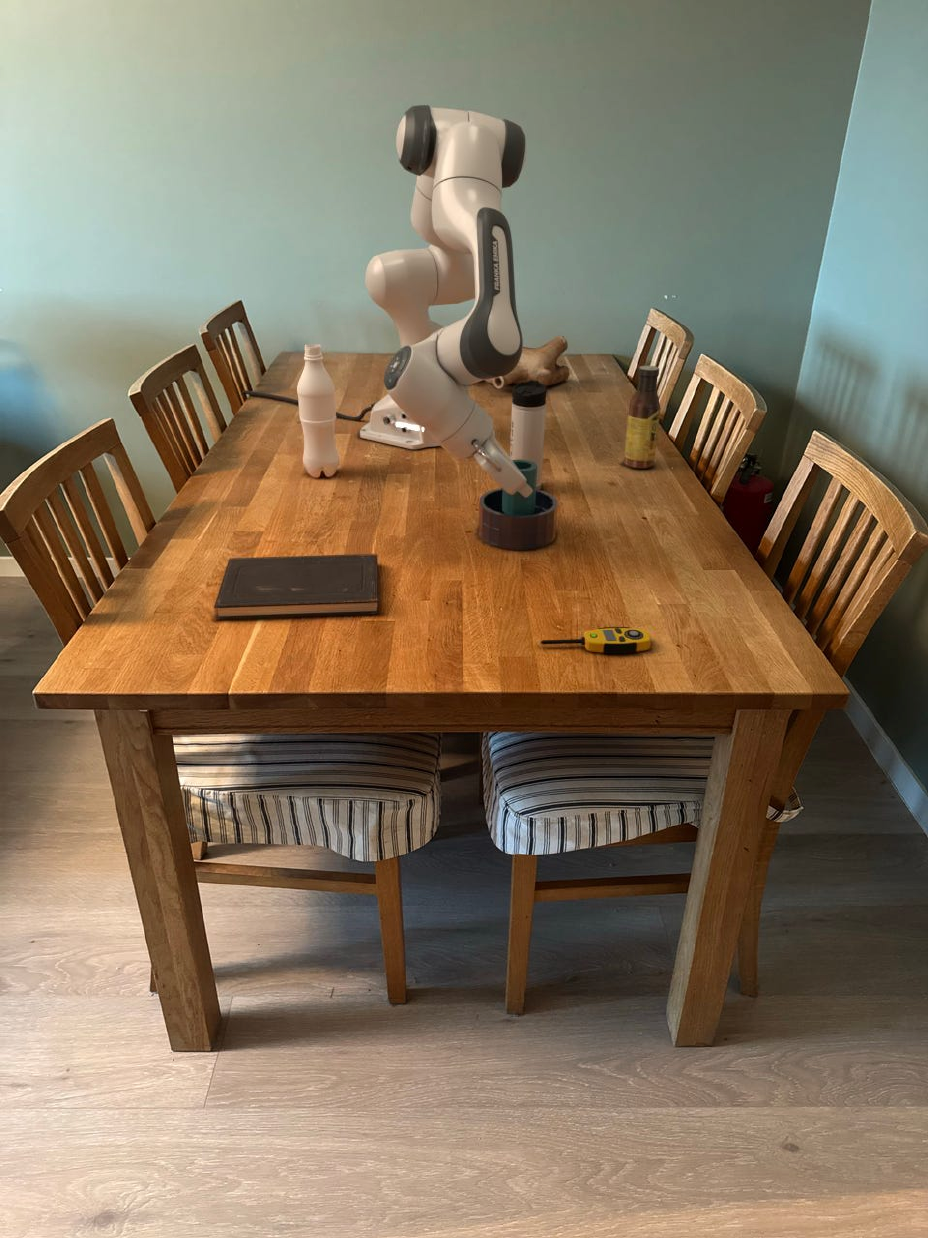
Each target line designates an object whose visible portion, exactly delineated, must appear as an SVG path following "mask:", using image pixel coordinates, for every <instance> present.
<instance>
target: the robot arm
mask: <svg viewBox="0 0 928 1238" xmlns="http://www.w3.org/2000/svg"><path fill="white" fill-rule="evenodd" d="M526 142H527V141H526V135H525V133H524V130H523V128H522V126H521V125H519V124H517V123H515V122H513V121H511V120H509V119H506V118H503V119H499V118H497V117H495V116H491V115H488V114H485V113H481V112H478V111H473V110H468V109H467V110H461V109H455V108H446V107H445V108H444V107H430V105H429V104H419V105H412V106H410V107H409V108H408V109H407V110H406V111H405V112H404V113H403V117H402V119H401V121H400V122H399V125H398V127H397V131H396V138H395V144H396V152H397V155H398V161H399V162H398V163H400V166H402V168H403V169H404V170H405V171H407V172H408V173H411V174H412V175H415V176H417V177H416V181H415V186H414V193H413V199H412V203H411V209H410V222H411V223H410V224H411V226H412V228H413V230H414V232H415V234H417V235H418V237H420V238H421V239H422V240H423V241H425V242H426V243H428V244H429V246H428V247H424V248H409V249H407V248H406V249H394V250H390V251H386V252H383V253H380V254H377V255H376V254H375V255H374V256H373V257H372V258H371V259H370V261H369V263H368V264H367V267H366V269H365V275H364V276H365V278H364V282H365V287H366V291H367V293H368V295H369V297H370V299H371V300H372V301H373V302H374V303H375V304H376V305H377V306H378V307H380V308H381V309H382V310H384V312H385V313H387V314H388V316H389V317H390V319H391V320H392V321H393V323H394V326H395V327H396V330H397V332H398V336H399V343H400V348H399V350H397V351H396V352H395V354H394V356H392V358H391V359H390V360H389V362H388V364H387V366H386V368H385V371H384V374H383V385H384V389H385V390H386V393H387V394H386V395H385V396H383V397H382V398H381V399H380V400H378V401H376V402H373V403H371V404H370V406H367V407H365V408H364V409H362V411H361V413H360V414H359V415H358V416H349V415H346V414H343V413H340V412H337V411H336V418H340V419H342V420H343V419H344V420H348V421H354V422H355V421H356V422H357V421H361V420H362V419H363V418H364V417H365V415H366V414H367V413H368V412H370V415H369V422H367V423H366V424H365V425H363V426H362V427H361V428H360V430H359V437H360V438H361V439H364V440H368V441H373V442H378V443H382V444H386V445H392V446H395V447H400V448H405V449H409V450H419V449H424V448H428V447H429V448H431V447H441V448H442V449H443V450H445V451H446V452H447V454H449V455H450V456H451V457H452V458H453V459H454V460H456V461H462V460H467V461H474V460H475V461H476V463H477V464H478V465H479V467H480V468H481V470H483V471H484V472H485V474H487V475H488V476H489V477H490V478H491V479H492V481H494V482H495V483H496V484H497V485H499V488H503V489H504V490H505V491H506V492H507V493H508V494H510V495H513V494H515V493H516V492H517V491H518V492H520V493H521V494H522V495H523V496H524V497H528V496H529V495H530V494H531V493H532V492H533V490H532V488H531V487H530V486H529V485H528V484H527V483H526V478H525V477H524V475H523V474H522V473H521V471H520V470H519V469H518V467H517V466H516V465H515V464H514V462H513V461H512V460H511V458H510V455H508V453H507V452H506V450H505V449H504V448H503V446H501V444H500V443H499V441H498V440H497V438H496V437H495V436H496V431H495V429H493V428H494V424H495V422H494V418H493V417H492V416H491V415H490V414H489V413H488V412H487V411H486V410H485V408H483V407H482V406H481V405H480V404H478V403H477V401H476V400H475V399H473V397H471V395H470V394H469V389H470V388H471V386H472V385H474V384H476V383H479V382H482V381H484V380H485V379H491V378H496V377H500V376H504V375H507V374H509V373H510V372H511V371H513V370H514V368H515V367H516V366H517V364H518V362H519V360H520V358H521V354H522V348H523V347H524V346H523V345H524V341H523V332H522V328H521V325H520V321H519V316H518V310H517V301H516V300H517V298H516V283H515V282H516V281H515V265H514V249H513V239H512V238H513V237H512V232H511V227H510V224H509V221H508V219H507V218H506V216H505V215H504V214H503V212H502V211H503V210H502V198H503V197H502V195H503V189H507V188H511V186H513V185H515V183H517V182H518V180H519V178H520V175H521V174H522V172H523V169H524V167H525V164H526V160H527V144H526ZM471 300H474V304H473V306H472V308H471V309H470V312H468V314H466V316H465V317H464V318H462V319H459V320H457V321H455V322H452V323H450V324H448V325H446V326H443V325H441V324H440V323H438V322H436V321H433V320H431V317H430V311H429V309H430V307H432V306H446V305H455V304H456V305H457V304H461V303H465V302H469V301H471ZM241 392H242V395H243V394H244V395H249V396H256V397H262V398H267V399H273V400H278V401H283V402H287V403H292V404H295V405H299V401H298V399H294V398H290V397H286V396H282V395H277V394H271V393H266V392H259V391H253V390H245V389H242V391H241Z"/></svg>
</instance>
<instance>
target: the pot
mask: <svg viewBox="0 0 928 1238" xmlns="http://www.w3.org/2000/svg"><path fill="white" fill-rule="evenodd" d="M502 492H503V488H501V487H499V488H496V489H491V490H489V491H487V492H484V493H483V494H482V495H481V496H480V497H479V501H478V505H479V506H478V536H479V538H480V539H481V540H482V541H483V542H484V543H486V544H488V545H490V546H492V547H494V548H497V549H498V548H499V549H503V550H509V551H530V550H531V551H532V550H536V549H541V548H544V547H545V546H549V545H550V544H552V542H554V540H555V538H556V534H557V521H558V520H557V519H558V504H559V503H558V500H557V498H556V497H554V495H552V494H551V493H549V492H547V491H544V490H541V489H540V490H537V489H536V500H535V511H534V513H532V514H531V515H509V514H506V513H504V512H503V510H502Z"/></svg>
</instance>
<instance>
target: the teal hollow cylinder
mask: <svg viewBox="0 0 928 1238" xmlns="http://www.w3.org/2000/svg"><path fill="white" fill-rule="evenodd" d="M512 461H513V462H514V464H515V465H516V466H517V467H518V469H519V470H520V471H521V473H522V474H523V475H524V477H525V478H526V483H527V484H528V485H529V486H530V487H531V488H532V490H533V492H532V493H531V494H530V495H529V496H528V497H524V496H523V495H522V494H521V493H520V492H518V491H517V492H516V493H515V494H513V495H510V494H508V493H507V492H506V491H505V490H504V489H503V492H502V510H503V512H504V513H506V514H509V515H531V514H532V513H534V511H535V500H536V482H537V465H536V463H534V462H532V461H528V460H512Z"/></svg>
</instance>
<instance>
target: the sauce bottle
mask: <svg viewBox="0 0 928 1238" xmlns="http://www.w3.org/2000/svg"><path fill="white" fill-rule="evenodd" d="M637 370H638V371H637V376H638V379H637V385H636V392H635V393H634V394H633V395H632V397H631V399H630V402H629V410H628V414H627V423H626V432H625V433H626V434H625V443H624V453H623V455H624V459H623V463H624V465H625V466H626V467H629V468H632V469H638V470H643V469H649V468H651V467H652V466H653V465H654V462H655V461H654V460H655V458H656V452H657V451H656V450H657V441H658V432H659V425H660V417H661V404H660V400H659V395H658V379H659V378H658V377H659V375H660V367H658V366H655V365H641V366H638V369H637Z"/></svg>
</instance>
